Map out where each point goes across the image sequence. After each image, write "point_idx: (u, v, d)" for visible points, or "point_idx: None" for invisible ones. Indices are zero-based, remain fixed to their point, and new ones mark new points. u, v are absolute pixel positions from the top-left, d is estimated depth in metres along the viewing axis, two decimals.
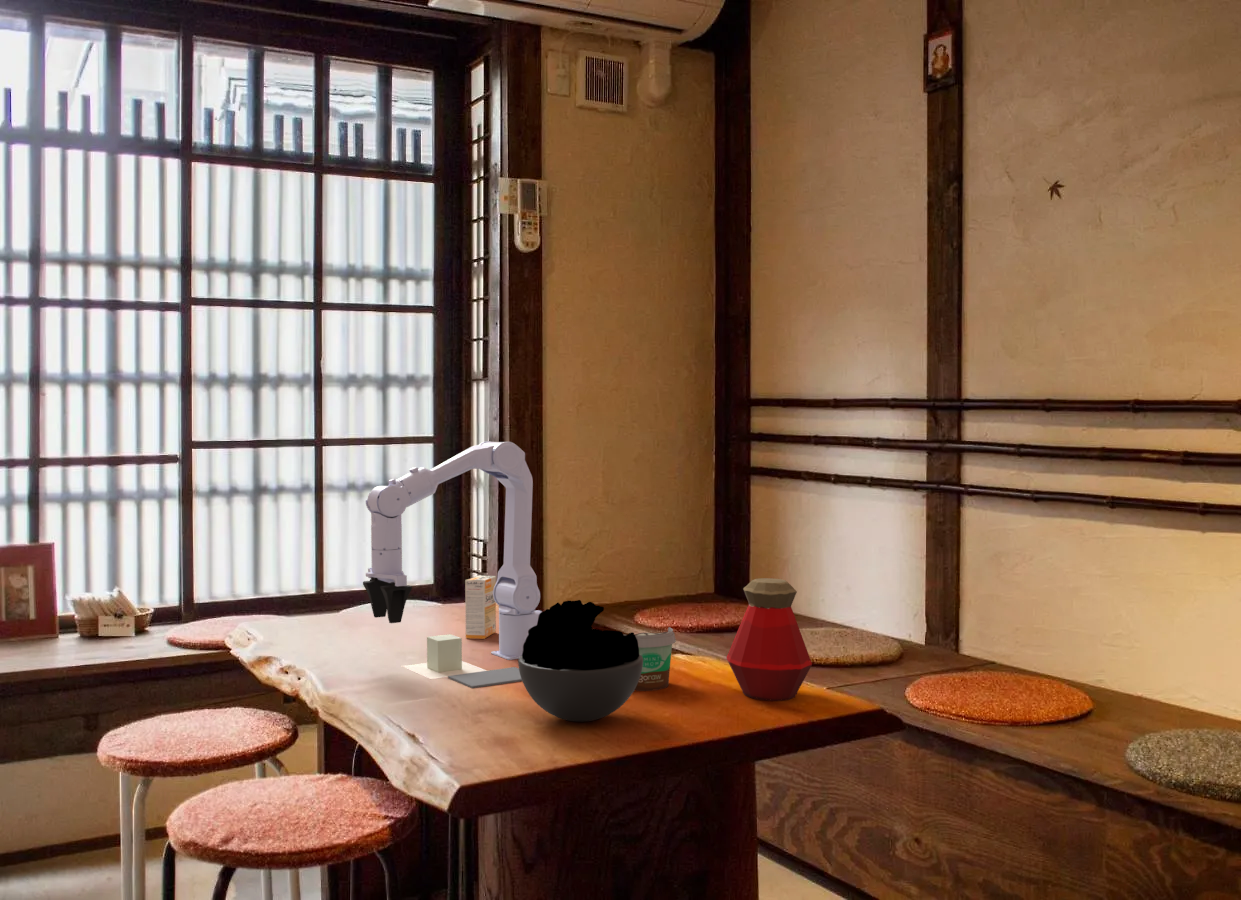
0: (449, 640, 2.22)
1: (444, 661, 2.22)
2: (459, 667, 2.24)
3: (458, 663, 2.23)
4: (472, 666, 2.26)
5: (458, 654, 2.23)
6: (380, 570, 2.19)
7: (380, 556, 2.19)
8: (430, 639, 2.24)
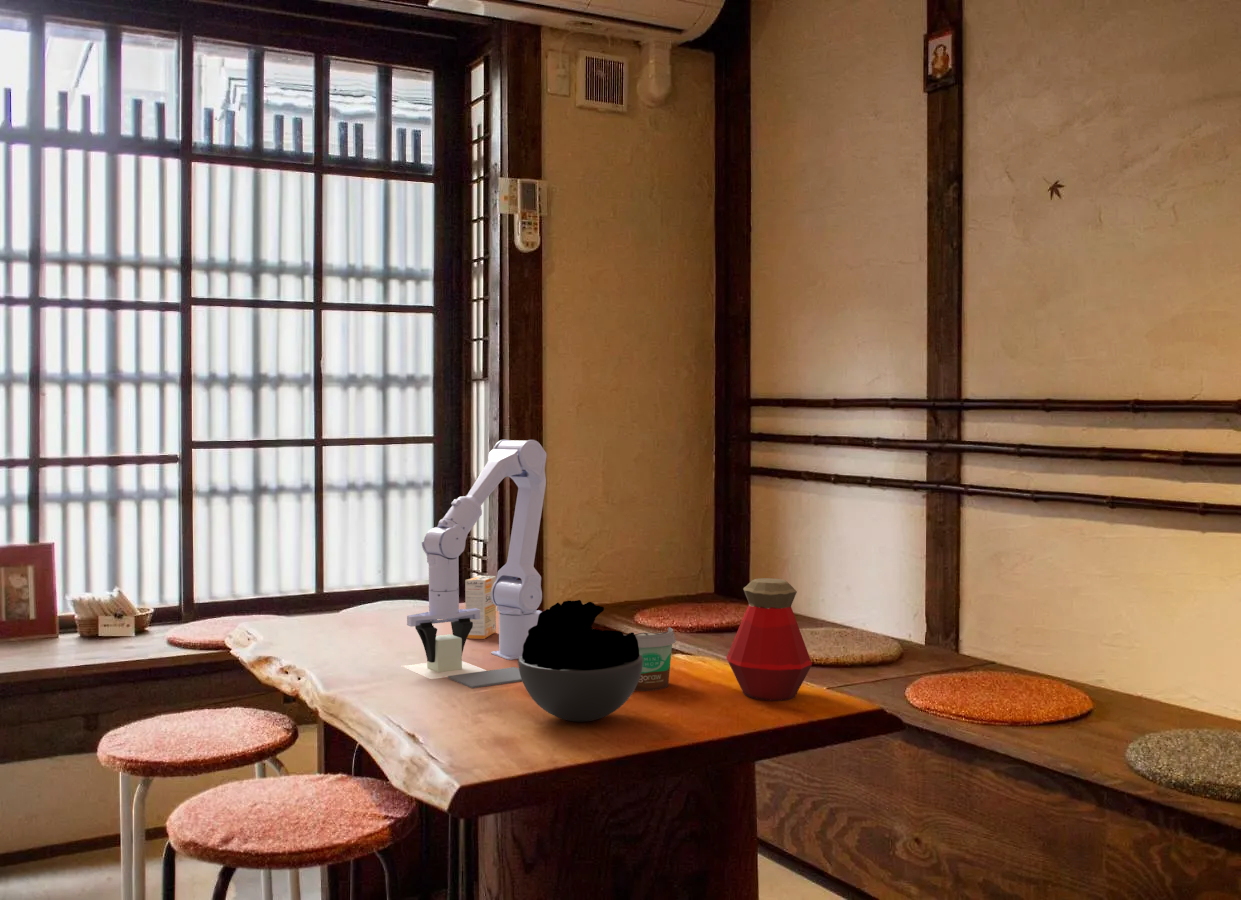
0: (449, 640, 2.22)
1: (444, 661, 2.22)
2: (459, 667, 2.24)
3: (458, 663, 2.23)
4: (472, 666, 2.26)
5: (458, 654, 2.23)
6: None
7: None
8: None
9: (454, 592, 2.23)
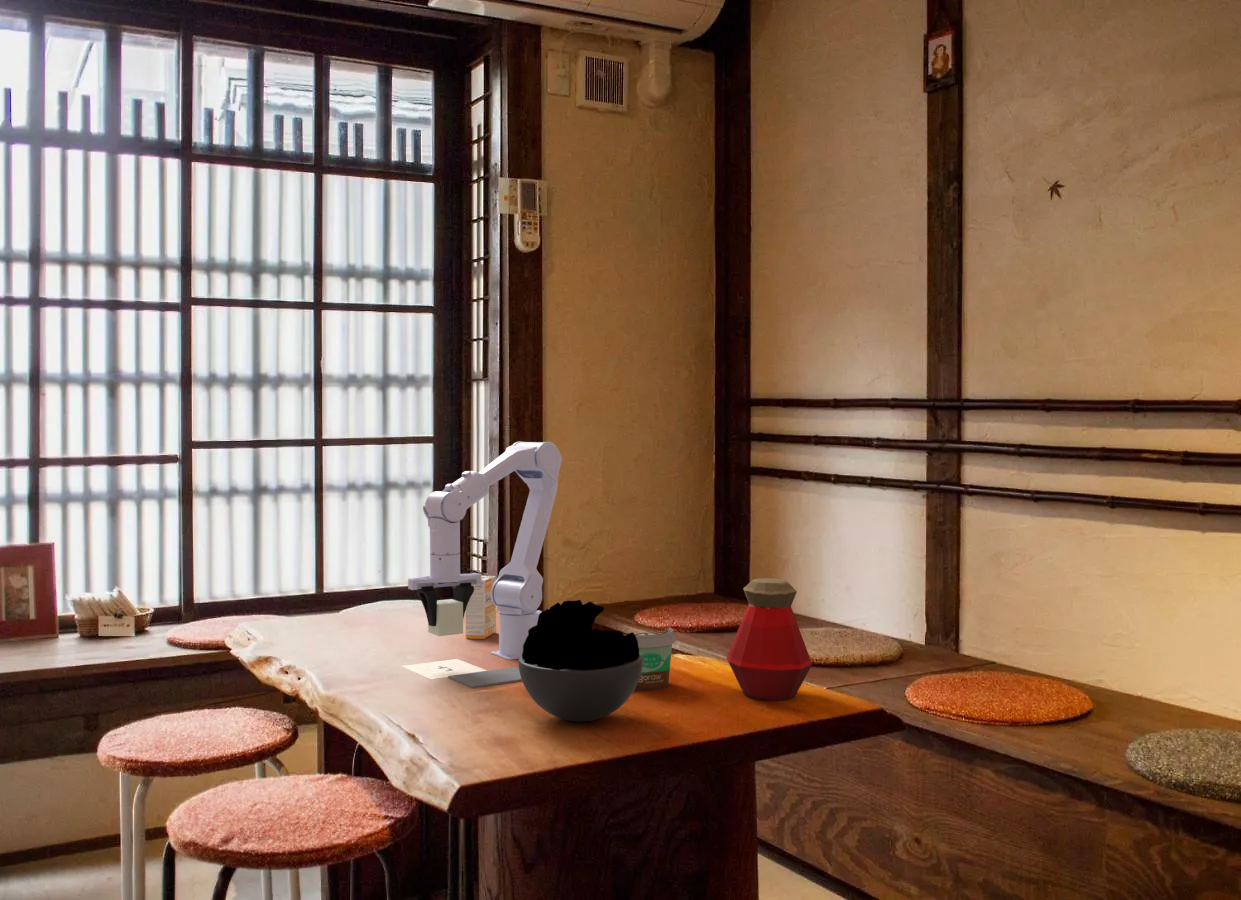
0: (450, 604, 2.22)
1: (445, 625, 2.21)
2: (460, 631, 2.23)
3: (459, 627, 2.23)
4: (472, 666, 2.26)
5: (459, 618, 2.23)
6: None
7: None
8: None
9: (455, 556, 2.22)
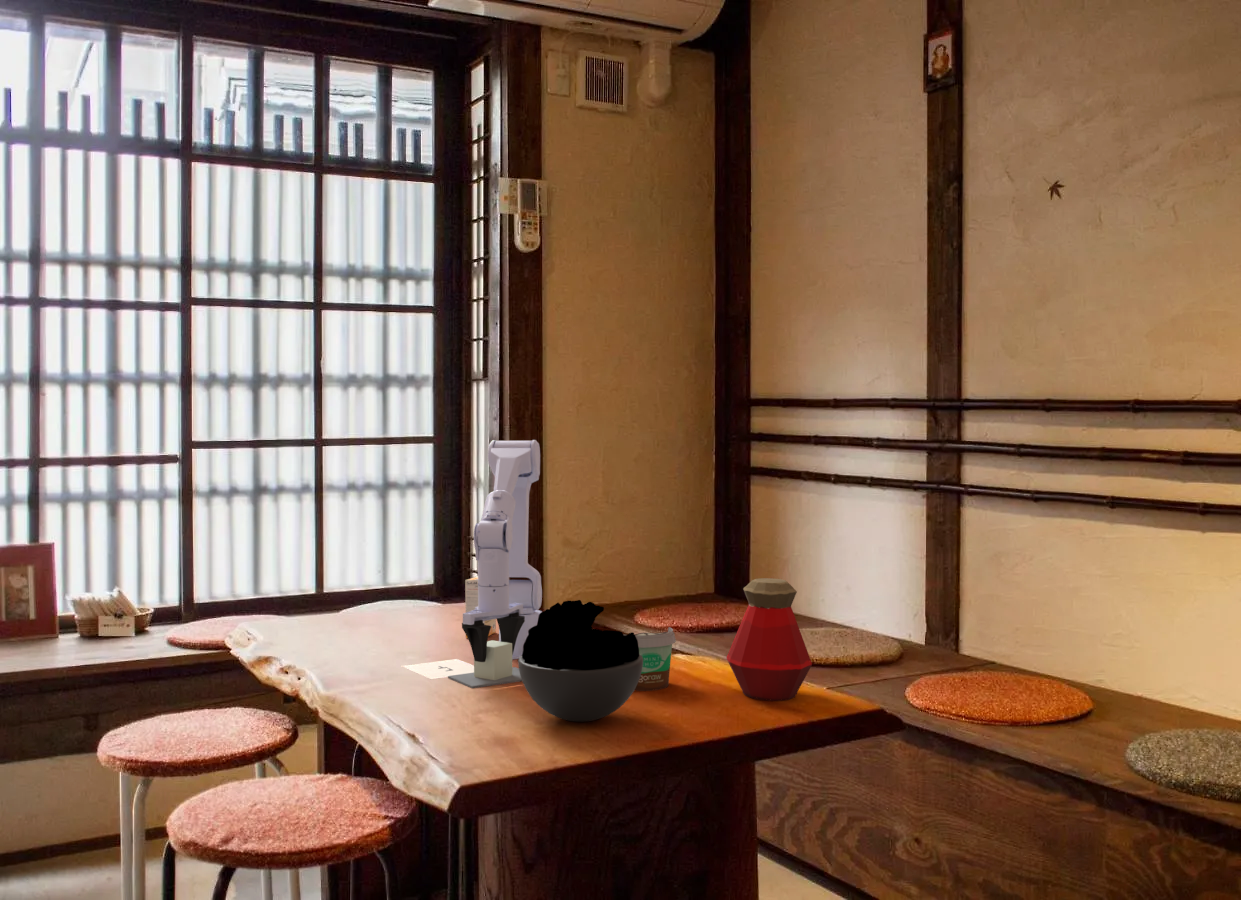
0: (502, 646, 2.14)
1: (498, 668, 2.14)
2: (510, 673, 2.16)
3: (509, 669, 2.16)
4: (472, 666, 2.26)
5: (509, 660, 2.16)
6: (478, 605, 2.15)
7: (478, 591, 2.15)
8: None
9: (507, 587, 2.15)
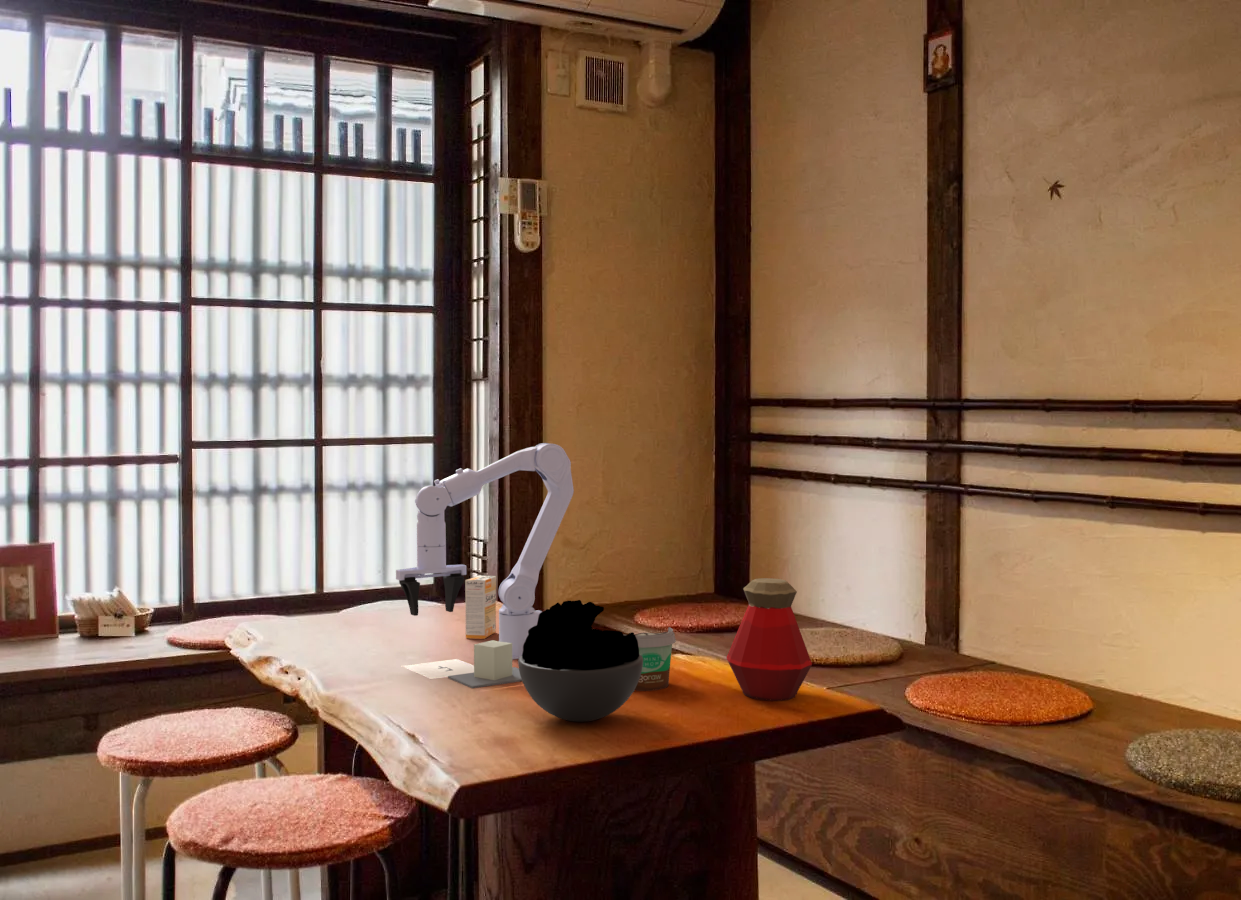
0: (502, 646, 2.14)
1: (498, 668, 2.14)
2: (510, 673, 2.16)
3: (509, 669, 2.16)
4: (472, 666, 2.26)
5: (509, 660, 2.16)
6: None
7: None
8: (480, 646, 2.14)
9: (441, 548, 2.32)
